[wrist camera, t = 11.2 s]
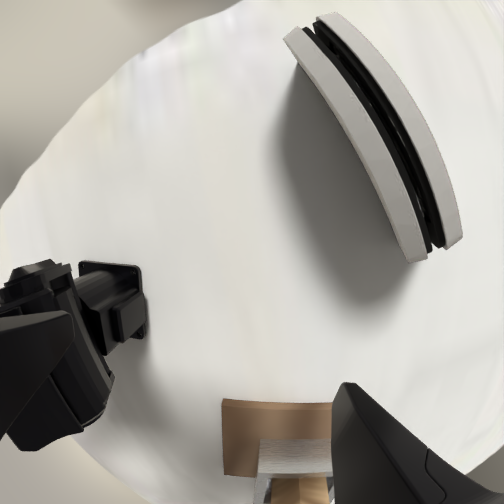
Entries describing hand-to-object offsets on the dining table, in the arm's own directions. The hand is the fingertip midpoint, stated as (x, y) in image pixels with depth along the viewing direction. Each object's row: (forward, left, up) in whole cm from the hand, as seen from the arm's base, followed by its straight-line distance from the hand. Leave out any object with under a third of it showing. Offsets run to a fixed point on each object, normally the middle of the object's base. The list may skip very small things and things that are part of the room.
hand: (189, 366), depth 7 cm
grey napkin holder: (+9, +10, -13) cm, 19 cm away
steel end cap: (+7, -21, -12) cm, 25 cm away
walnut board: (+6, -19, -13) cm, 24 cm away
